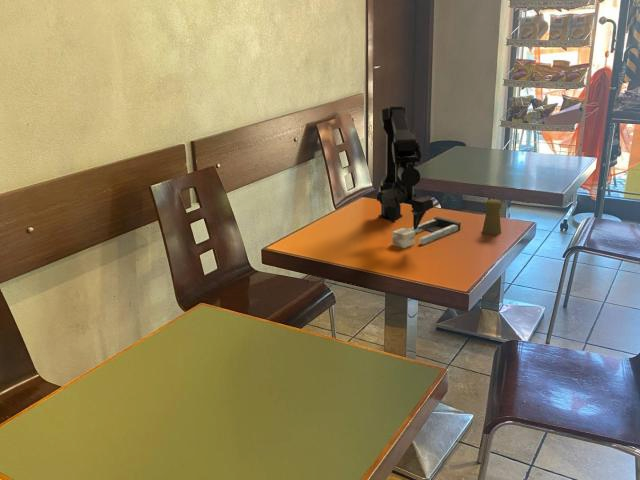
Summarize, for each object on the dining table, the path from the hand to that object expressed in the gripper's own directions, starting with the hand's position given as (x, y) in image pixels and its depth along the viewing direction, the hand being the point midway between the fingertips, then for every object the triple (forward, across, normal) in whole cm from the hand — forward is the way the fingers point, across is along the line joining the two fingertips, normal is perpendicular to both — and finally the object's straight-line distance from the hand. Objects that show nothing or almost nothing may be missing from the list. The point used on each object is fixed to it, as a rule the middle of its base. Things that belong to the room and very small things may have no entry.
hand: (404, 225), depth 197 cm
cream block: (+6, 0, 0) cm, 6 cm away
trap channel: (+6, 0, +13) cm, 15 cm away
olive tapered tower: (+6, +14, +28) cm, 32 cm away
